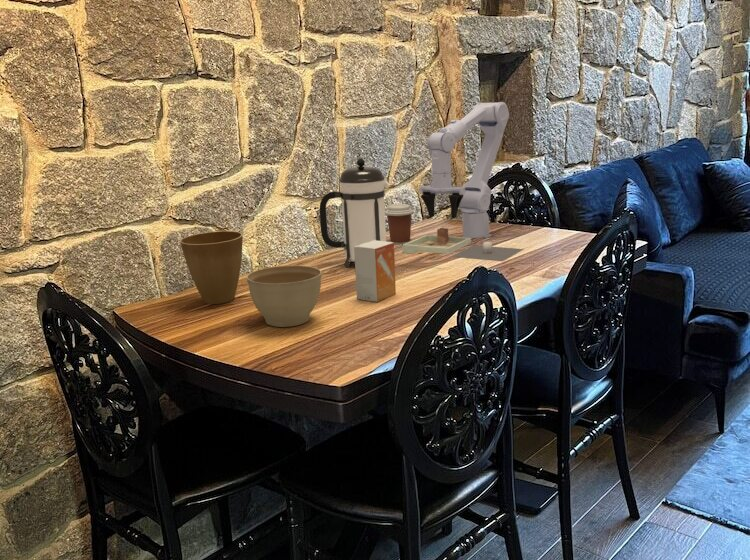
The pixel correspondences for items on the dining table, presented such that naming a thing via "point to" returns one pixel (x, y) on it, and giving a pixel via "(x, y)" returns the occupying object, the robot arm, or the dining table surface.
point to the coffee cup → (399, 223)
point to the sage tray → (414, 247)
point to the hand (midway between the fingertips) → (442, 217)
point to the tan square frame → (440, 239)
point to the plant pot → (214, 263)
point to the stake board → (492, 256)
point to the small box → (375, 270)
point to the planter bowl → (285, 293)
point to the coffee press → (358, 209)
